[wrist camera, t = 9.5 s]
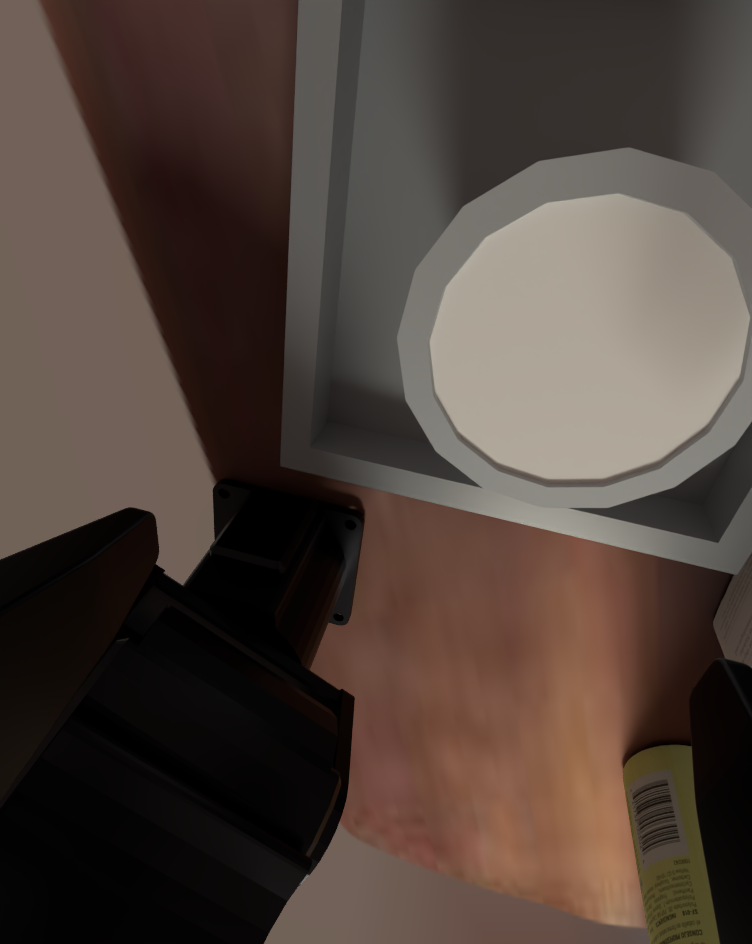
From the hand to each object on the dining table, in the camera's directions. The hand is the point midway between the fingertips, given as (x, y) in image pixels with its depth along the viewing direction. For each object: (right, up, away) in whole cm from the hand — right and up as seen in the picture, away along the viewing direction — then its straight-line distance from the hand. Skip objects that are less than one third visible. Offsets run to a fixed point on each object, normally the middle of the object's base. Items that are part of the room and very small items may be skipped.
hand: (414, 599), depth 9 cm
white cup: (+5, +8, +7) cm, 12 cm away
